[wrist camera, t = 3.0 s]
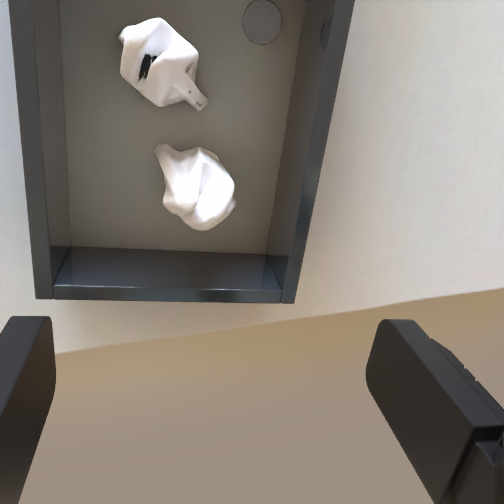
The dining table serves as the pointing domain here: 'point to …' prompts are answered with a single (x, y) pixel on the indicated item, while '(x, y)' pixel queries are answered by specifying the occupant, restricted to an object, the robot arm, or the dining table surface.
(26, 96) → the grey open box
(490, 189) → the dining table surface
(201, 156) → the shaker set
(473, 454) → the robot arm
